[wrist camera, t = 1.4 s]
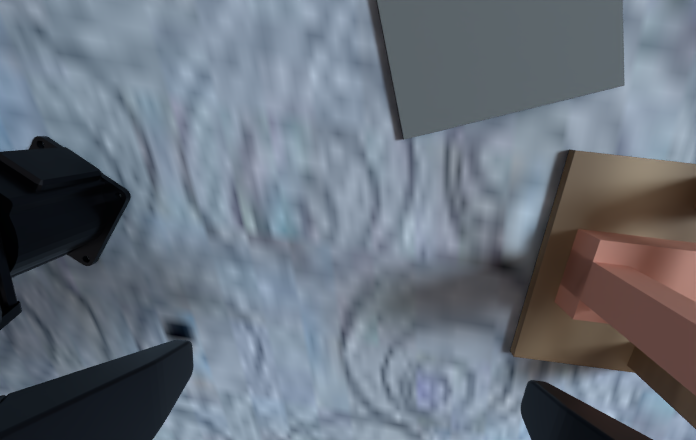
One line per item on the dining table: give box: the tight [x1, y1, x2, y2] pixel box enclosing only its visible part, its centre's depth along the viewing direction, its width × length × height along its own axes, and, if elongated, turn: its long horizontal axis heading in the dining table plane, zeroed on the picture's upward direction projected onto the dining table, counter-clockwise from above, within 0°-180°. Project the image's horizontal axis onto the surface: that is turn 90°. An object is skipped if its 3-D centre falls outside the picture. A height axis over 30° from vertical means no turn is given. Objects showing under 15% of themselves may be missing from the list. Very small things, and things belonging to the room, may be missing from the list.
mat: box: [377, 0, 624, 139], centre depth 18 cm, size 12×8×1 cm, turn 104°
